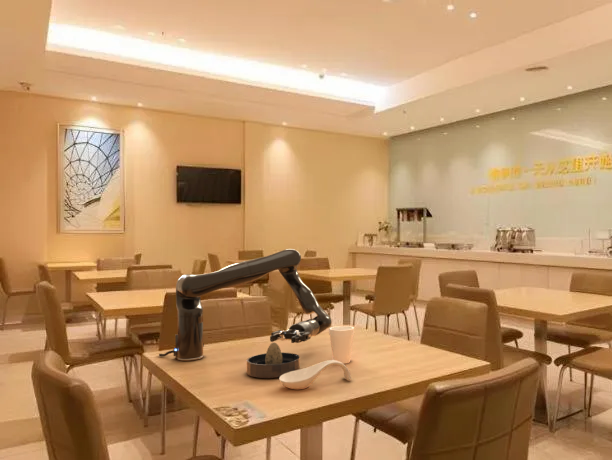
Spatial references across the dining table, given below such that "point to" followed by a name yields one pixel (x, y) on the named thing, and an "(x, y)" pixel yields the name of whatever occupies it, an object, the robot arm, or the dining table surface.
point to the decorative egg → (273, 354)
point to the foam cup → (341, 342)
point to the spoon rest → (309, 374)
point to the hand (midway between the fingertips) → (281, 339)
